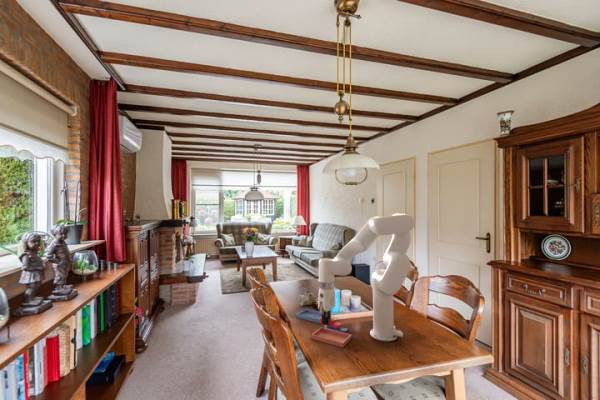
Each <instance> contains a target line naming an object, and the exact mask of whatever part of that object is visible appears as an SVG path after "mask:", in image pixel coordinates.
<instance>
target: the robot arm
mask: <svg viewBox="0 0 600 400" xmlns="http://www.w3.org/2000/svg"><path fill="white" fill-rule="evenodd" d="M415 225H416V222H415V219H414V217H413V216H412V215H410V214H407V213H394V214H391V215H390V216H372V217H370V218H369V219H368V220H367V221H366V223H364V225H363V226H362V228H361V229H360V230H359V231H358V232H357V233H356V235H355V236H354V237H353V238H351V240H350V241H349V242H347V243H346V244H345V245H344V246H343V247H342V248H341V249H340V250H339V252H338V253H337V254H336V255H335V257H334V258H333V259H332V258H329V257H328V258H326V257H324V258H320V259H319V260H318V297H317V301H318V305H317V309H318V311H319V314H321V316H322V324H324V325H323V326H327V325H328V319H332V317H331V315H332V309H334V308H335V307H336V289H335V275H336V276H341V277H345V276H349V275H350V274H351V273H352V271H353V267H352V264H351V262H352V260H353V259H354V258H355V257H356V256H358V255H359V254H361V253H363V252H366V251H368V250H369V249H370V248H371V246H372V245H373V244H374V242H376V240H377V239H378V238H379V236H391V235H392V237H391V240H390V243H389V244H388V247H387V249H386V250H385V252H384V254H383V258H382V263H383V265H384V266H385V267H386V269H384V268H379V269H376V270H374V272H373V273H372V275H371V288H372V329H370V331H369V335H370V337H372V338H373V339H375V340H376V341H381V342H393V341H396V340H397V339H398V337H399V338H403V337H404V333H403V332H402V330H398V329H396V325H395V321H394V320H395V319H394V318H395V314H394V311H395V310H394V309H395V308H394V304H395V303H394V295H396V294H397V293H399V291H400V290H401V288H402V287H403V284H404V283H405V281H406V278H407V276H408V274H409V272H410V270H411V260H410V257H409V256H408V255H407V252H408V250H409V248H410V245H411V239H412V238H411V231H412V230H413V229H415Z"/></svg>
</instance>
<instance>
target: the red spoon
mask: <svg viewBox="0 0 600 400" xmlns="http://www.w3.org/2000/svg"><path fill="white" fill-rule="evenodd" d="M335 321H336V320H335V319H333V318H331V319H328V325H326V327H327V326H333V327H335V328H343V323H342V322H339V321H336V322H335ZM319 324H320V325H322V326H325V325H324V324H322V318H321V319H320V323H319Z"/></svg>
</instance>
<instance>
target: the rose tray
mask: <svg viewBox="0 0 600 400" xmlns="http://www.w3.org/2000/svg"><path fill="white" fill-rule="evenodd" d="M310 335H311V338H310V339H311V340H314V341H318V342H322V343H326V344H329V345H332V346H335V347H339V348H345V346H347V345H348V343H349V342H351V340H352V339H353V335H352V333H351V334H350V333H348V332H347V333H343V332H340V331H336V330H332V329H328V328H327V327H323V326H321V327H319V328H318V329H317V330H315V331H314V332H312V334H310Z"/></svg>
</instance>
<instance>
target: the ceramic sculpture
mask: <svg viewBox="0 0 600 400" xmlns="http://www.w3.org/2000/svg"><path fill="white" fill-rule="evenodd" d="M297 301H298V303H299V306H300V307H305V305H306V306H316V305H315V303H317V302H316V301H318V299H317V297H316V295H315V294H314V293H312V292H310V291H305V292H304V294H297Z"/></svg>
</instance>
